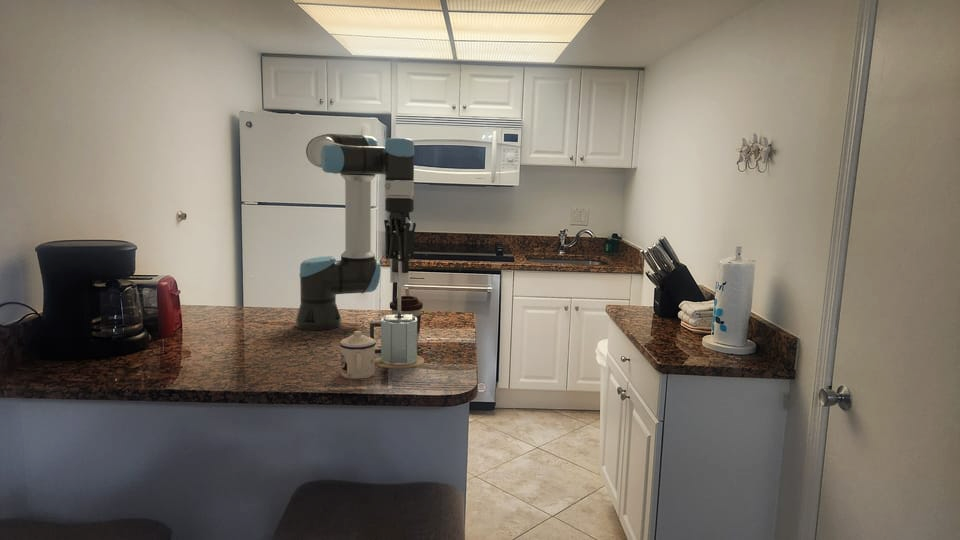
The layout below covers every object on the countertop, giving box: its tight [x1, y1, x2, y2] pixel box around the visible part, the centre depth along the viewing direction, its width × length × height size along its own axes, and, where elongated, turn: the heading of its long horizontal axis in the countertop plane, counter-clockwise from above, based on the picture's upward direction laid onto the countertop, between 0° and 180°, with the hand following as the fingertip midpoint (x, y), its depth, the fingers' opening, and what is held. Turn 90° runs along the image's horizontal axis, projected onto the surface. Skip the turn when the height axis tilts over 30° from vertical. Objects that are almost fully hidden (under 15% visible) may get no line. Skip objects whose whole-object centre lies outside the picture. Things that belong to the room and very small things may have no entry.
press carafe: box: [369, 314, 418, 366], centre depth 167 cm, size 10×13×12 cm
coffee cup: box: [389, 295, 424, 346], centre depth 184 cm, size 10×10×15 cm
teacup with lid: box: [339, 330, 377, 379], centre depth 155 cm, size 12×9×12 cm
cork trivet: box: [375, 354, 425, 369], centre depth 168 cm, size 14×14×1 cm
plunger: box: [391, 257, 407, 323], centre depth 165 cm, size 8×8×19 cm
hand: (399, 283), depth 165 cm, fingers closed on plunger, 4 cm apart
